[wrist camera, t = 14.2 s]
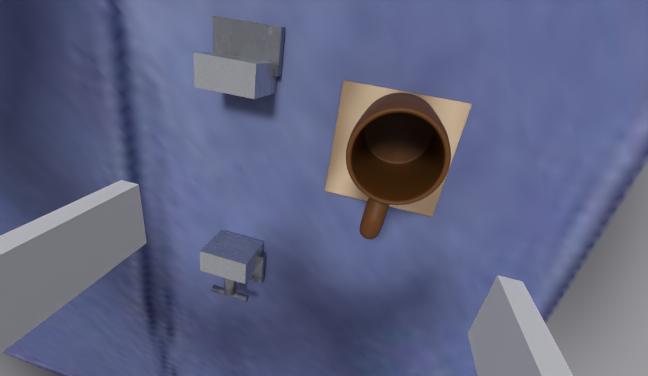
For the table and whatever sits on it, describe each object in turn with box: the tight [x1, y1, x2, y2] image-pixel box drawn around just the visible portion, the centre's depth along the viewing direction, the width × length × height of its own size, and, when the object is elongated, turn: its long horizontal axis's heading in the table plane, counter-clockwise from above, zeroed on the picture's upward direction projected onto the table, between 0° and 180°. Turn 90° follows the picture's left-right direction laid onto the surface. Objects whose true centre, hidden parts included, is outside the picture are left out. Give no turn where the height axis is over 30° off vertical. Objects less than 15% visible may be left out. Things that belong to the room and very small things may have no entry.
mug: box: [346, 92, 451, 239], centre depth 27 cm, size 12×8×9 cm, turn 167°
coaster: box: [325, 80, 472, 217], centre depth 31 cm, size 12×12×1 cm
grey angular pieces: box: [193, 16, 285, 302], centre depth 34 cm, size 7×33×5 cm, turn 171°
